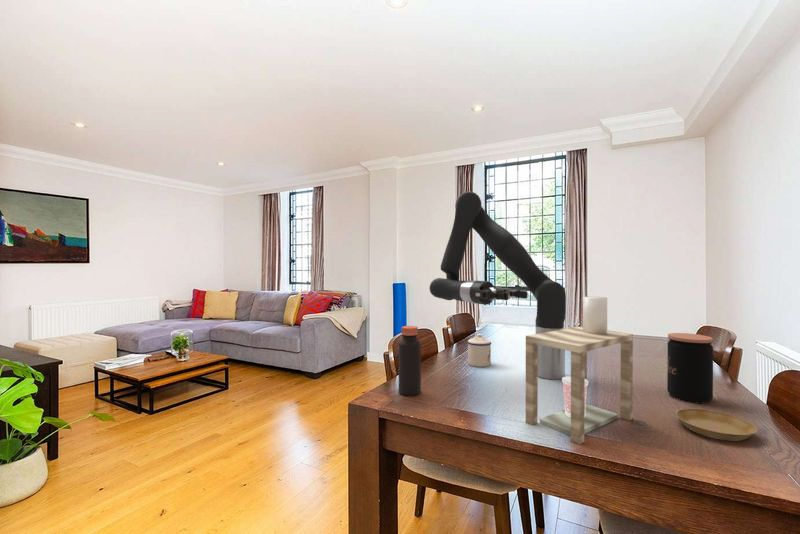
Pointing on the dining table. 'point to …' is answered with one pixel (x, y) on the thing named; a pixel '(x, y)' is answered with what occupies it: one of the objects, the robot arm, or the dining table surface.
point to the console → (578, 379)
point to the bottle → (409, 362)
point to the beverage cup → (567, 394)
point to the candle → (595, 315)
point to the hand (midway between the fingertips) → (517, 295)
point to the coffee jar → (690, 367)
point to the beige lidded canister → (479, 351)
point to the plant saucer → (729, 424)
